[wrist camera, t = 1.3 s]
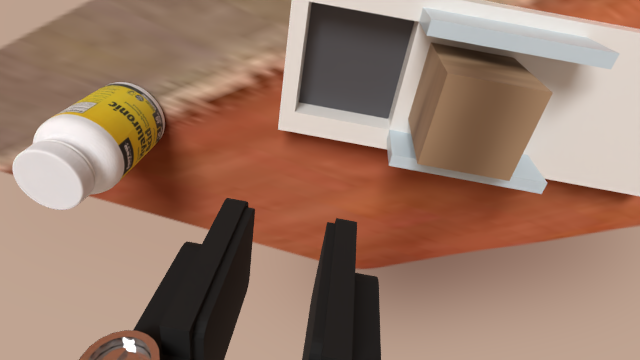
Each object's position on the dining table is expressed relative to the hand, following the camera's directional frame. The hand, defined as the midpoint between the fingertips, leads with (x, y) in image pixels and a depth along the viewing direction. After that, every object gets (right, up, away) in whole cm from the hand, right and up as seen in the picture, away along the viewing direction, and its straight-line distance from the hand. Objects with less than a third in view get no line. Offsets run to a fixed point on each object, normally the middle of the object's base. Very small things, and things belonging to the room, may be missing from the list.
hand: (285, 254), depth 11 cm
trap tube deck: (+12, +8, +16) cm, 22 cm away
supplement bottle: (-13, +7, +20) cm, 25 cm away
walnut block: (+10, +8, +14) cm, 19 cm away
